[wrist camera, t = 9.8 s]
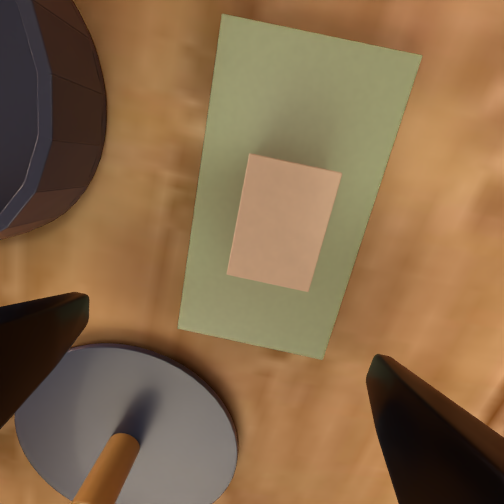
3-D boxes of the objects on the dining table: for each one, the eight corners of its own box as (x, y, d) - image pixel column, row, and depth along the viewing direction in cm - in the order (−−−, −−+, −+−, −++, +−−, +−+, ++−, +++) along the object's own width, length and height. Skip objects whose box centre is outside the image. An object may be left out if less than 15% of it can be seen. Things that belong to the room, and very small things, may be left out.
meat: (300, 264, 18) (308, 292, 14) (236, 251, 18) (226, 275, 14) (326, 170, 16) (342, 172, 12) (254, 155, 16) (249, 153, 12)
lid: (219, 527, 27) (204, 626, 21) (28, 484, 27) (-38, 572, 21) (259, 367, 22) (254, 441, 16) (20, 315, 22) (-72, 370, 16)
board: (319, 346, 21) (322, 360, 19) (183, 317, 21) (177, 328, 19) (409, 65, 15) (423, 54, 14) (226, 26, 16) (221, 12, 14)
